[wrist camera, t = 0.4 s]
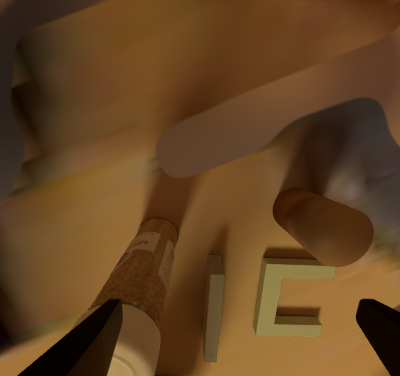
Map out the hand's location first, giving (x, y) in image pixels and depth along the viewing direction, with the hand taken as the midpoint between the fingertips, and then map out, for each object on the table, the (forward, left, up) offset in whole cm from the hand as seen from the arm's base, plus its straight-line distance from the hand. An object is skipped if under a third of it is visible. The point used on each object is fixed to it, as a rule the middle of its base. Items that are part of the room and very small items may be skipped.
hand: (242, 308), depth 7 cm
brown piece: (0, -9, -14) cm, 17 cm away
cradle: (-11, -11, -14) cm, 21 cm away
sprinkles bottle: (-4, +6, -14) cm, 16 cm away
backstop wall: (-12, -1, -14) cm, 18 cm away
